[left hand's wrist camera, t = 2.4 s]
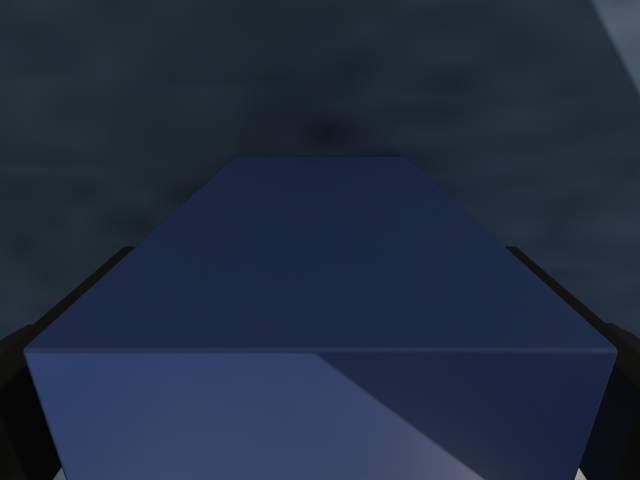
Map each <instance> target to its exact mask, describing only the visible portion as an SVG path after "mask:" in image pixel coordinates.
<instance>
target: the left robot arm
mask: <svg viewBox="0 0 640 480" xmlns="http://www.w3.org/2000/svg"><path fill="white" fill-rule="evenodd" d="M134 248H135V247H123V248H122V249H121V250H120V251H119V252H118V253H116V254H115V255H114V256H113V257H112V258H111V259H109V260H108V261H107V262H106V263H105V264H104V265H102V266H101V267H100V268H99V269H98V270H97V271H95V272H94V273H93V274H92V275H91V276H90V277H88V278H87V279H86V280H85V281H84V282H83V283H81V284H80V285H79V286H78V287H77V288H76V289H74V290H73V291H72V292H71V293H70V294H69V295H67V296H66V297H65V298H64V299H63V300H62V301H60V302H59V303H58V304H57V305H56V306H55V307H53V308H52V309H51V310H50V311H49V312H47V313H46V314H45V315H44V316H43V317H42V318H40V319H39V320H38V321H37V322H36V323H35V324H33V325H27V326H25V327H23V328H22V329H20V330H18V331H16V332H14V333H12V334H10V335H8V336H6V337H5V338H4V339H3V340H1V341H0V480H53V479H54V478H55V476H56V475H57V473H58V472H59V470H60V469H61V467H62V466H61V463H60V460H59V457H58V454H57V451H56V448H55V445H54V442H53V439H52V436H51V433H50V430H49V427H48V424H47V422H46V419H45V416H44V413H43V410H42V407H41V404H40V401H39V398H38V395H37V392H36V389H35V386H34V383H33V380H32V377H31V375H30V372H29V369H28V366H27V363H26V360H25V357H24V354H23V350H24V348H25V347H26V346H27V345H28V344H29V343H30V342H32V341H33V340H34V339H35V338H36V337H37V336H38V335H39V334H40V333H41V332H43V331H44V330H45V329H46V328H47V327H48V326H49V325H50V324H51V323H52V322H54V321H55V320H56V319H57V318H58V317H59V316H60V315H61V314H62V313H64V312H65V311H66V310H67V309H68V308H69V307H70V306H71V305H72V304H73V303H75V302H76V301H77V300H78V299H79V298H80V297H81V296H82V295H83V294H84V293H86V292H87V291H88V290H89V289H90V288H91V287H92V286H93V285H94V284H95V283H97V282H98V281H99V280H100V279H101V278H102V277H103V276H104V275H105V274H106V273H108V272H109V271H110V270H111V269H112V268H113V267H114V266H115V265H116V264H117V263H119V262H120V261H121V260H122V259H123V258H124V257H125V256H126V255H127V254H129V253H130V252H131V251H132V250H133V249H134ZM505 248H507V249H508V250H509V251H510V252H511V253H512V254H513V255H514V256H515V257H516V258H518V259H519V260H520V261H521V262H522V263H523V264H524V265H525V266H526V267H528V268H529V269H530V270H531V271H532V272H533V273H534V274H535V275H536V276H537V277H539V278H540V279H541V280H542V281H543V282H544V283H545V284H546V285H547V286H548V287H550V288H551V289H552V290H553V291H554V292H555V293H556V294H557V295H558V296H559V297H561V298H562V299H563V300H564V301H565V302H566V303H567V304H568V305H569V306H570V307H572V308H573V309H574V310H575V311H576V312H577V313H578V314H579V315H580V316H581V317H583V318H584V319H585V320H586V321H587V322H588V323H589V324H590V325H591V326H592V327H594V328H595V329H596V330H597V331H598V332H599V333H600V334H601V335H602V336H604V337H605V338H606V339H607V340H608V341H609V342H610V343H611V344H612V345H613V346H615V347H616V349H617V351H618V354H617V357H616V360H615V363H614V366H613V368H612V371H611V374H610V377H609V380H608V383H607V386H606V389H605V392H604V395H603V398H602V401H601V404H600V407H599V409H598V412H597V415H596V418H595V421H594V424H593V427H592V430H591V433H590V436H589V439H588V442H587V445H586V447H585V450H584V453H583V456H582V459H581V462H580V465H579V469H580V470H581V472H582V473H583V475H584V476H585V478H586V479H587V480H640V339H638V338H637V337H636V336H635V335H633V334H631V333H629V332H627V331H625V330H623V329H622V328H620V327H618V326H616V325H614V324H612V323H604V322H603V321H602V320H601V319H600V318H598V317H597V316H596V315H595V314H594V313H593V312H591V311H590V310H589V309H588V308H587V307H586V306H584V305H583V304H582V303H581V302H580V301H578V300H577V299H576V298H575V297H574V296H573V295H571V294H570V293H569V292H568V291H567V290H566V289H564V288H563V287H562V286H561V285H560V284H559V283H557V282H556V281H555V280H554V279H553V278H552V277H550V276H549V275H548V274H547V273H546V272H545V271H543V270H542V269H541V268H540V267H539V266H538V265H536V264H535V263H534V262H533V261H532V260H531V259H529V258H528V257H527V256H526V255H525V254H524V253H522V252H521V251H520V250H519V249H518V248H517V247H505Z"/></svg>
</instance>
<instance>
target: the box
mask: <svg viewBox="0 0 640 480" xmlns="http://www.w3.org/2000/svg"><path fill="white" fill-rule="evenodd" d="M23 354H24V357H25V360H26V363H27V366H28V369H29V372H30V375H31V377H32V380H33V383H34V386H35V389H36V392H37V395H38V398H39V401H40V404H41V407H42V410H43V413H44V416H45V419H46V422H47V424H48V427H49V430H50V433H51V436H52V439H53V442H54V445H55V448H56V451H57V454H58V457H59V460H60V463H61V466H62V469H63V471H64V474H65V477H66V480H575V477H576V474H577V471H578V468H579V465H580V462H581V459H582V456H583V453H584V450H585V447H586V445H587V442H588V439H589V436H590V433H591V430H592V427H593V424H594V421H595V418H596V415H597V412H598V409H599V407H600V404H601V401H602V398H603V395H604V392H605V389H606V386H607V383H608V380H609V377H610V374H611V371H612V368H613V366H614V363H615V360H616V357H617V354H618V351H617V349H616V347H615V346H613V345H612V344H611V343H610V342H609V341H608V340H607V339H606V338H605V337H604V336H602V335H601V334H600V333H599V332H598V331H597V330H596V329H595V328H594V327H592V326H591V325H590V324H589V323H588V322H587V321H586V320H585V319H584V318H583V317H581V316H580V315H579V314H578V313H577V312H576V311H575V310H574V309H573V308H572V307H570V306H569V305H568V304H567V303H566V302H565V301H564V300H563V299H562V298H561V297H559V296H558V295H557V294H556V293H555V292H554V291H553V290H552V289H551V288H550V287H548V286H547V285H546V284H545V283H544V282H543V281H542V280H541V279H540V278H539V277H537V276H536V275H535V274H534V273H533V272H532V271H531V270H530V269H529V268H528V267H526V266H525V265H524V264H523V263H522V262H521V261H520V260H519V259H518V258H516V257H515V256H514V255H513V254H512V253H511V252H510V251H509V250H508V249H507V248H505V247H504V246H503V245H502V244H501V243H500V242H499V241H498V240H497V239H496V238H494V237H493V236H492V235H491V234H490V233H489V232H488V231H487V230H486V229H485V228H483V227H482V226H481V225H480V224H479V223H478V222H477V221H476V220H475V219H474V218H472V217H471V216H470V215H469V214H468V213H467V212H466V211H465V210H464V209H463V208H461V207H460V206H459V205H458V204H457V203H456V202H455V201H454V200H453V199H452V198H450V197H449V196H448V195H447V194H446V193H445V192H444V191H443V190H442V189H440V188H439V187H438V186H437V185H436V184H435V183H434V182H433V181H432V180H431V179H429V178H428V177H427V176H426V175H425V174H424V173H423V172H422V171H421V170H420V169H418V168H417V167H416V166H415V165H414V164H413V163H412V162H411V161H410V160H409V159H407V158H406V157H405V156H236V157H234V158H233V159H232V160H231V161H230V162H229V163H228V164H227V165H225V166H224V167H223V168H222V169H221V170H220V171H219V172H218V173H217V174H216V175H214V176H213V177H212V178H211V179H210V180H209V181H208V182H207V183H206V184H205V185H203V186H202V187H201V188H200V189H199V190H198V191H197V192H196V193H195V194H193V195H192V196H191V197H190V198H189V199H188V200H187V201H186V202H185V203H184V204H182V205H181V206H180V207H179V208H178V209H177V210H176V211H175V212H174V213H173V214H171V215H170V216H169V217H168V218H167V219H166V220H165V221H164V222H163V223H162V224H160V225H159V226H158V227H157V228H156V229H155V230H154V231H153V232H152V233H151V234H149V235H148V236H147V237H146V238H145V239H144V240H143V241H142V242H141V243H140V244H138V245H137V246H136V247H135V248H134V249H133V250H132V251H131V252H130V253H129V254H127V255H126V256H125V257H124V258H123V259H122V260H121V261H120V262H119V263H117V264H116V265H115V266H114V267H113V268H112V269H111V270H110V271H109V272H108V273H106V274H105V275H104V276H103V277H102V278H101V279H100V280H99V281H98V282H97V283H95V284H94V285H93V286H92V287H91V288H90V289H89V290H88V291H87V292H86V293H84V294H83V295H82V296H81V297H80V298H79V299H78V300H77V301H76V302H75V303H73V304H72V305H71V306H70V307H69V308H68V309H67V310H66V311H65V312H64V313H62V314H61V315H60V316H59V317H58V318H57V319H56V320H55V321H54V322H52V323H51V324H50V325H49V326H48V327H47V328H46V329H45V330H44V331H43V332H41V333H40V334H39V335H38V336H37V337H36V338H35V339H34V340H33V341H32V342H30V343H29V344H28V345H27V346H26V347H25V348H24V350H23Z"/></svg>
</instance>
